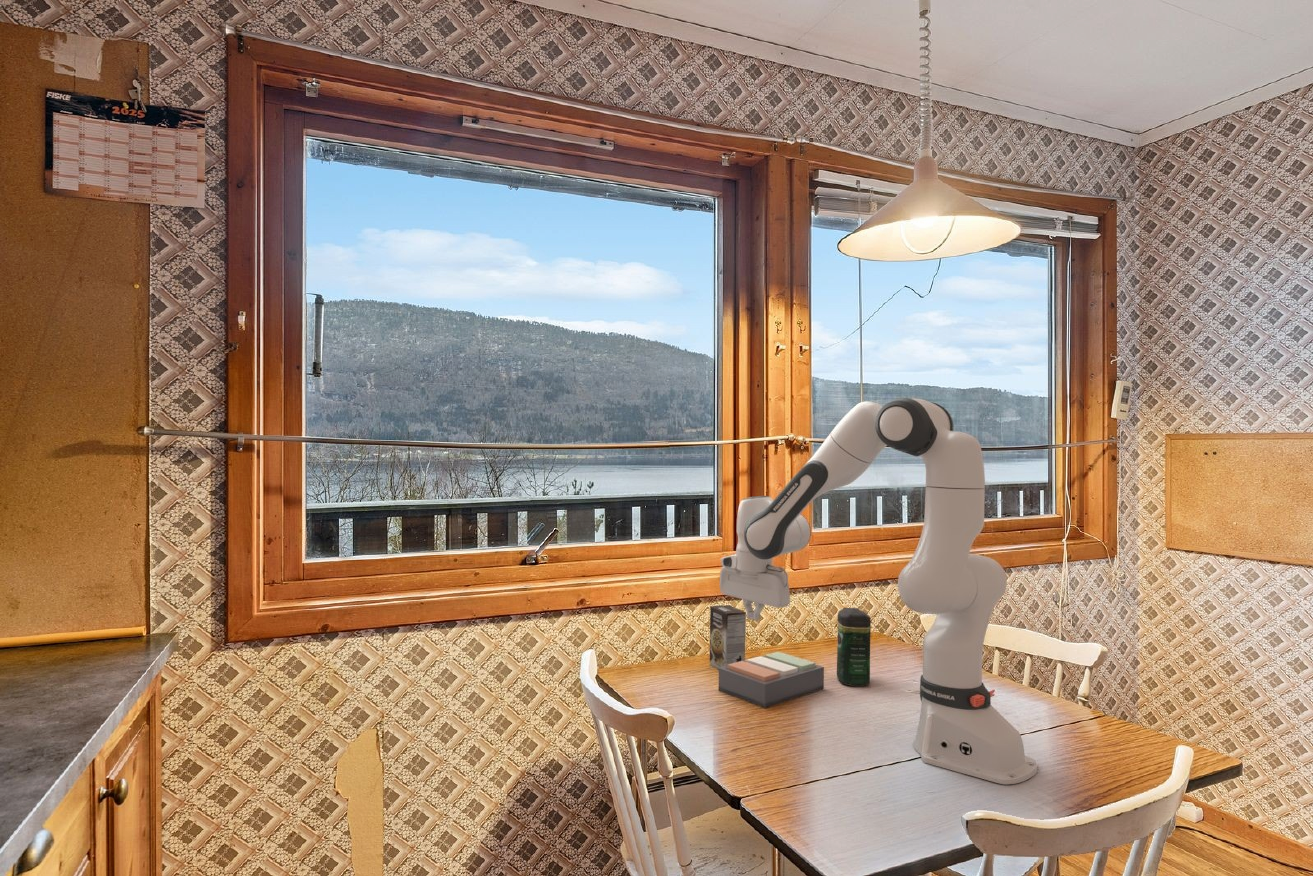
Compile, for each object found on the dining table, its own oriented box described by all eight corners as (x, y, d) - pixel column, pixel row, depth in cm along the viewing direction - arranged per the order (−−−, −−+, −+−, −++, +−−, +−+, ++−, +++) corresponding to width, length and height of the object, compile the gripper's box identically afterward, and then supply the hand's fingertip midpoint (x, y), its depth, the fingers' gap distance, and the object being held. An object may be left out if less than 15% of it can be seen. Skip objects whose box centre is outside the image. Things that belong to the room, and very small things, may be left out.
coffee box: (708, 664, 202) (709, 606, 202) (728, 662, 204) (729, 604, 205) (725, 674, 193) (725, 613, 194) (745, 671, 196) (746, 611, 196)
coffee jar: (873, 688, 184) (874, 614, 184) (841, 687, 184) (842, 613, 184) (863, 676, 194) (864, 605, 194) (833, 675, 194) (834, 605, 194)
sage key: (815, 674, 183) (815, 662, 183) (801, 678, 179) (802, 666, 179) (777, 663, 192) (778, 651, 192) (764, 666, 189) (764, 655, 189)
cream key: (797, 680, 178) (797, 667, 178) (783, 684, 175) (783, 671, 175) (760, 667, 188) (760, 656, 188) (746, 671, 184) (746, 659, 184)
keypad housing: (823, 689, 182) (823, 667, 182) (764, 708, 168) (765, 684, 169) (777, 673, 194) (777, 653, 194) (718, 690, 180) (718, 668, 180)
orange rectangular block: (779, 685, 174) (779, 673, 174) (764, 690, 171) (764, 677, 171) (741, 672, 183) (742, 660, 183) (727, 676, 180) (727, 664, 180)
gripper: (796, 567, 171) (795, 626, 171) (733, 555, 187) (732, 609, 187) (778, 569, 167) (777, 630, 167) (715, 557, 183) (715, 613, 183)
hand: (753, 619), depth 177 cm, fingers closed
